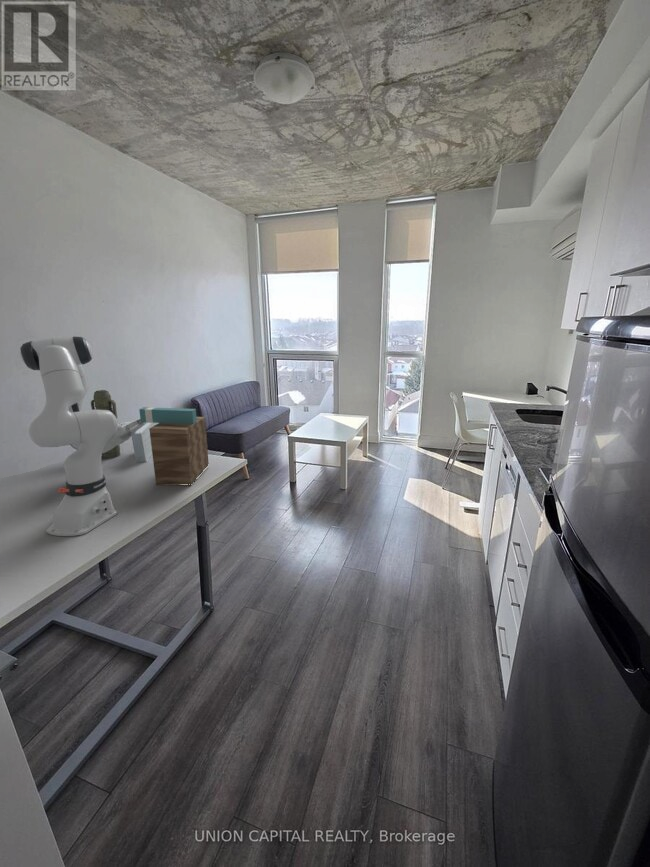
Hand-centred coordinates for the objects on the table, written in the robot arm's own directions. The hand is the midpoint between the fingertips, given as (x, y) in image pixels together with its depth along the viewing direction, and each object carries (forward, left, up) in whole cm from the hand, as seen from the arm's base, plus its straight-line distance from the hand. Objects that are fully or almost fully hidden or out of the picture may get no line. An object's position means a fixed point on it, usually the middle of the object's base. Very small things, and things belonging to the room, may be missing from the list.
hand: (143, 419), depth 164 cm
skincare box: (+24, +15, -27) cm, 39 cm away
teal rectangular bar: (0, -12, -1) cm, 12 cm away
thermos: (+22, +33, -27) cm, 48 cm away
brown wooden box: (0, -16, -27) cm, 32 cm away
